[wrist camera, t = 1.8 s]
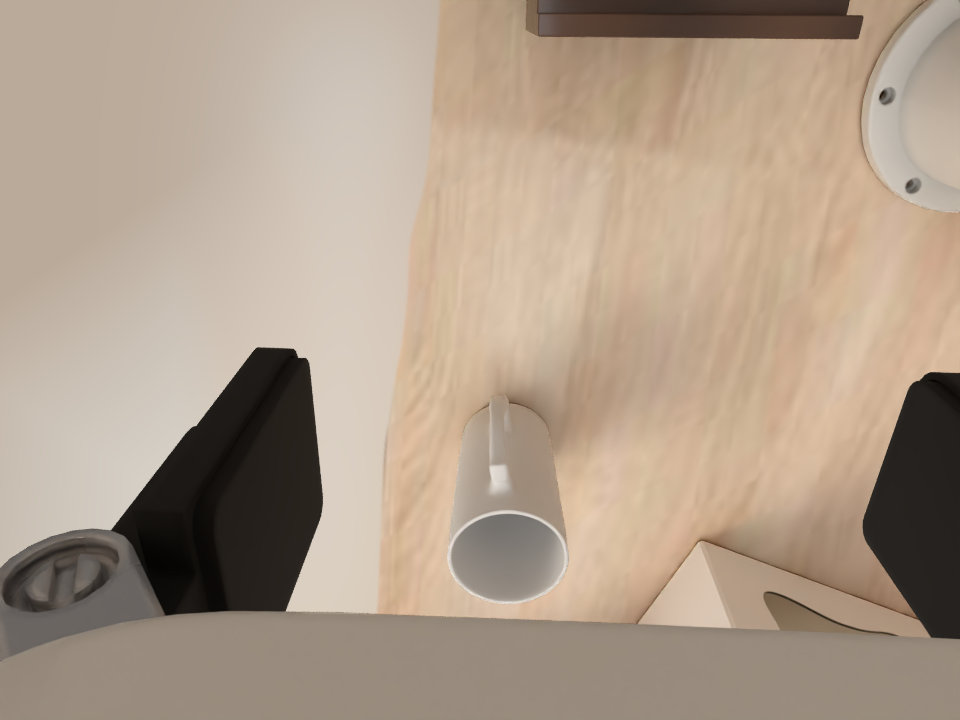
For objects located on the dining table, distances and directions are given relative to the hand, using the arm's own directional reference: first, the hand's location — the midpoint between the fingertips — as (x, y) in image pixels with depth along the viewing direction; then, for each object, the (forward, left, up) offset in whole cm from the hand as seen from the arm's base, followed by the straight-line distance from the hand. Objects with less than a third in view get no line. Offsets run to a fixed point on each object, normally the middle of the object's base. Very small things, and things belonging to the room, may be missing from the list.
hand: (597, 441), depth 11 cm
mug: (+1, +19, -32) cm, 37 cm away
